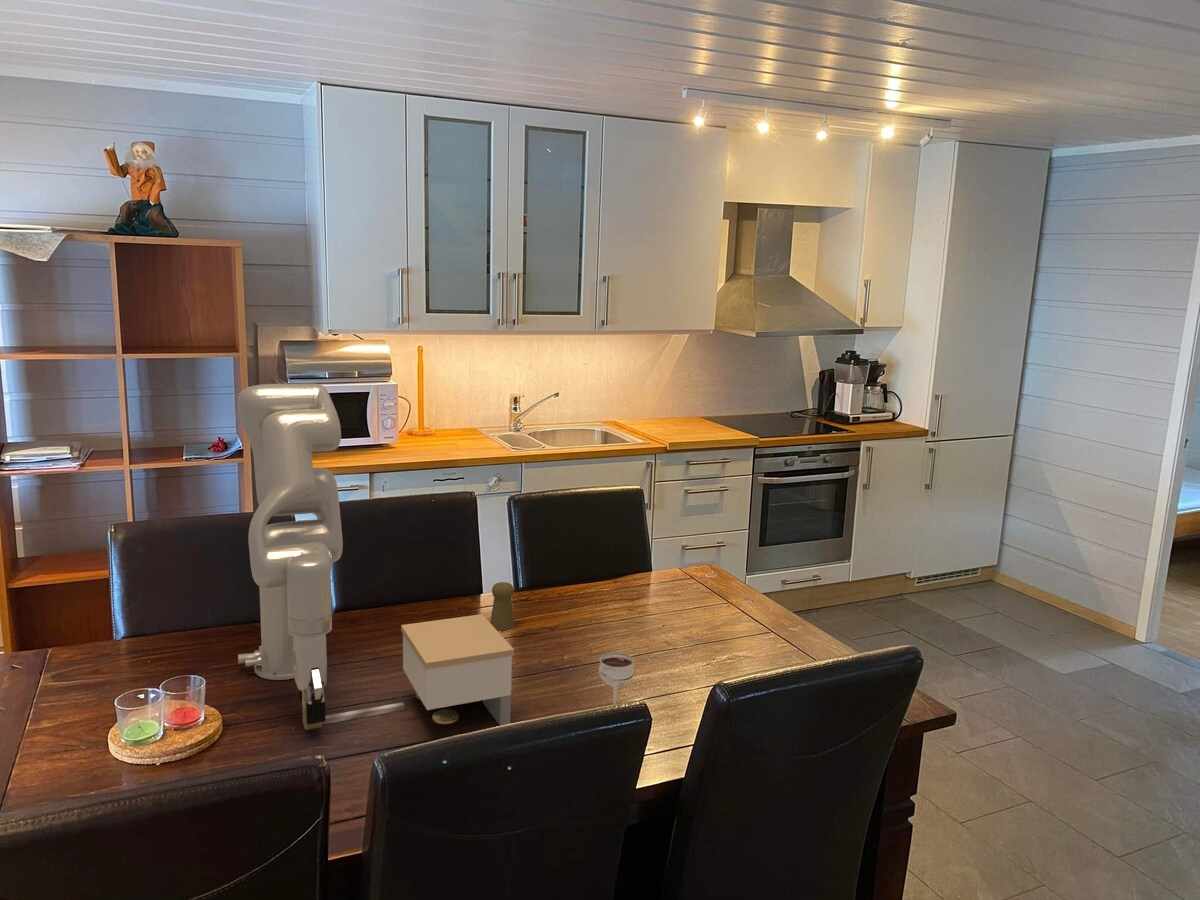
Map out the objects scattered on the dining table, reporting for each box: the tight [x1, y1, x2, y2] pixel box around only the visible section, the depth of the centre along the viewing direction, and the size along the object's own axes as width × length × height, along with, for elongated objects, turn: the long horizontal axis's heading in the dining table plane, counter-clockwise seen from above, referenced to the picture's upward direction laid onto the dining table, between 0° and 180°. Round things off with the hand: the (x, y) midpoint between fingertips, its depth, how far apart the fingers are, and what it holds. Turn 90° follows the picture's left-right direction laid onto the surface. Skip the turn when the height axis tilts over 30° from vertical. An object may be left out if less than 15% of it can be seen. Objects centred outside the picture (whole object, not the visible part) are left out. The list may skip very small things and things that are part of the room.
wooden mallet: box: [301, 683, 405, 731], centre depth 165 cm, size 18×3×8 cm, turn 116°
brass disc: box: [431, 708, 460, 725], centre depth 167 cm, size 5×5×1 cm
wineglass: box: [598, 652, 635, 705], centre depth 168 cm, size 7×7×12 cm
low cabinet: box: [400, 613, 515, 726], centre depth 168 cm, size 17×19×15 cm
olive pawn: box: [489, 581, 516, 631], centre depth 210 cm, size 6×6×11 cm
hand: (312, 710), depth 162 cm, fingers open, 8 cm apart
